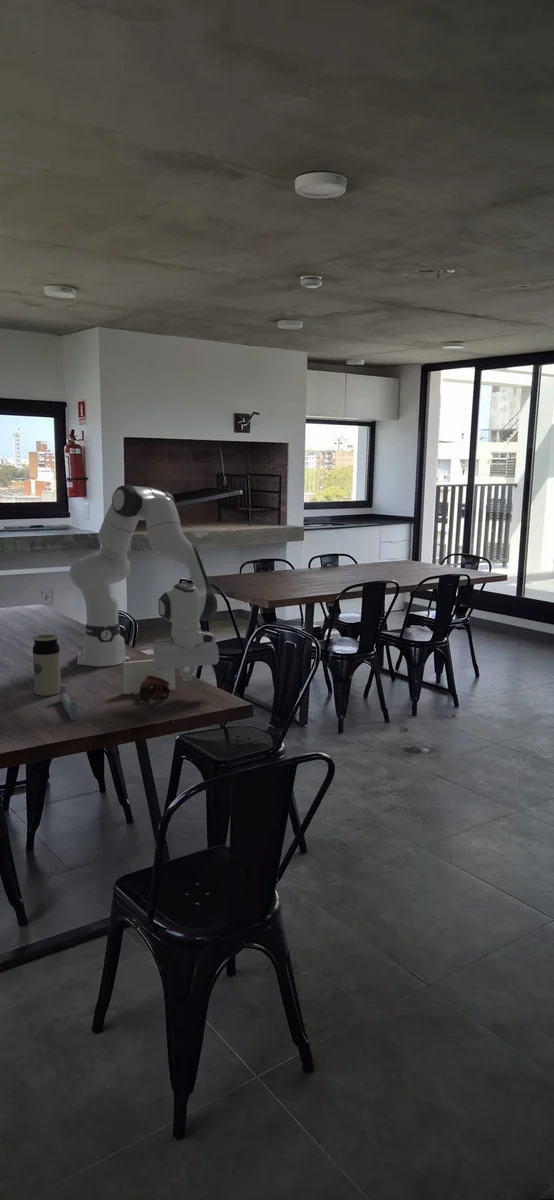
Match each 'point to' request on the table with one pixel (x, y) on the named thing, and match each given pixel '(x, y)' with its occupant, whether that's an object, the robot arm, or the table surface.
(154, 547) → the robot arm
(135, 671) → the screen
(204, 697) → the table surface
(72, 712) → the handle
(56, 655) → the travel mug
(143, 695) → the pottery mug
